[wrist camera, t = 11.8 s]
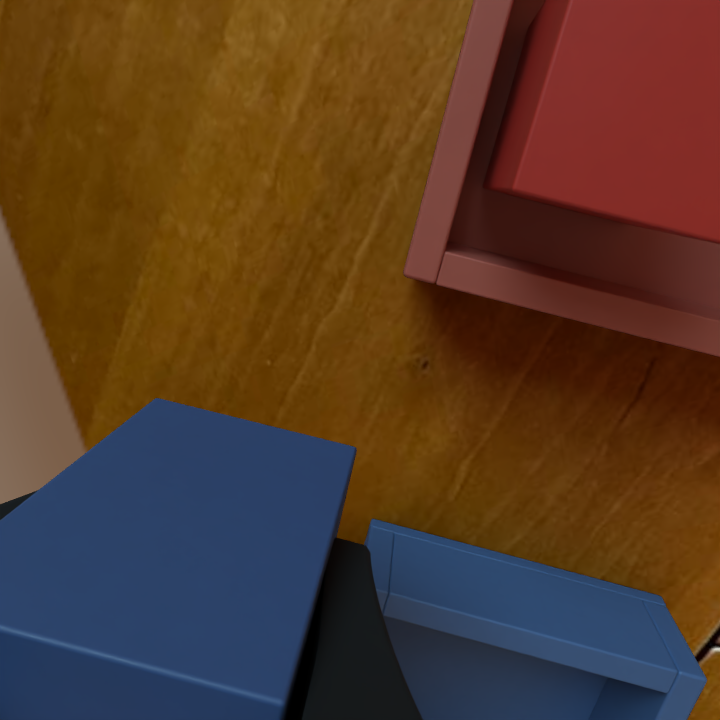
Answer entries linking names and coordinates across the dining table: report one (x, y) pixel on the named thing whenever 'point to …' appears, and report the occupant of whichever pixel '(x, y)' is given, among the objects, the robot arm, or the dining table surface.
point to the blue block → (169, 572)
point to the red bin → (546, 221)
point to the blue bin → (525, 636)
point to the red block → (617, 114)
